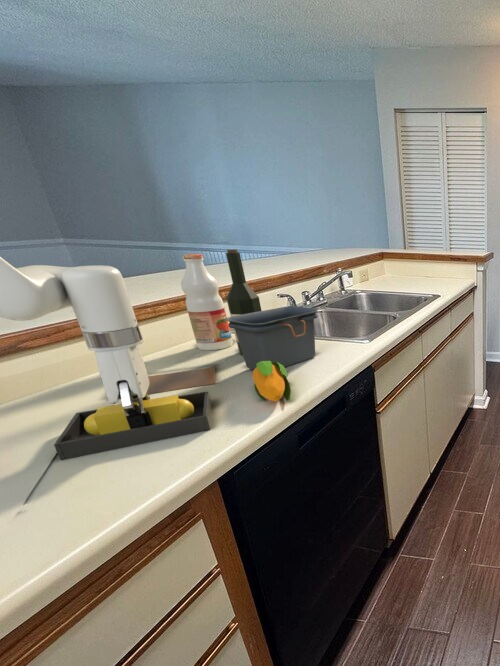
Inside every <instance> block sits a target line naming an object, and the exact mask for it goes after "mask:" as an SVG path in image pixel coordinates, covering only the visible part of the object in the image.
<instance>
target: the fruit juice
mask: <svg viewBox="0 0 500 666" xmlns="http://www.w3.org/2000/svg"><path fill="white" fill-rule="evenodd" d="M203 255H204V254H202V253H186V254H182V255H181V257H182V261H183V262H184V264H185V272H184V276H183V277H182V279H181V281H180V287H181V290H182V292H183V293H184V295H185V307H186V311H187V314H188V317H189V321H190V326H191V329H192V333H193V335H194V340H195V343H196V346H197V348H198V349H199V350H201V351H216V350H223V349H227V348H230V347H232V346H233V344H234V342H233V337H232V333H231V328H230V327H229V321H227V320H226V318H228V316H227V313H226V308H225V304H224V300H223V298H222V297H221V296H220V293H219V289H220V286H219V282H218V281H217V279H216V278H215V277H214V276H213V275H212V274H210V272H209V271H208V270H207V268H206V266H205V264H204V256H203Z"/></svg>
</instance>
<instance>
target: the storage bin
mask: <svg viewBox="0 0 500 666" xmlns="http://www.w3.org/2000/svg"><path fill="white" fill-rule="evenodd" d="M318 311H319V309H317V308H312V307H306V306H298V305H287V306H281V307H276V308H275V307H274V308H271V309H265V310H262V311H259V312H253V313H248V314H243V315H238V316H232V317H231V316H229V317H228V316H227V318H226V320H227V321H228V324H229V328H230V329H233V330H234V329H235V332H236V335H237V338H238V341H239V344H240V347H241V350H242V353H243V356H242V357H243V360H244V362H245V366H246V368H247V369H249V370H253V371H254V369H255V368H256V367H257V365H256V364H257V363H259V362H261V361H271V363H273V362H278V363H280V364H281V365H283V366H284V368H286V367H289V366H292V365H295V364H298V363H301V362H303V361H306V360H310V359H312V358H314V357H316V335H315V334H316V333H315V319H318V314H317V312H318ZM235 332H234V333H235Z"/></svg>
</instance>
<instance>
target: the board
mask: <svg viewBox="0 0 500 666" xmlns="http://www.w3.org/2000/svg"><path fill="white" fill-rule="evenodd" d="M148 378H149V387H148V390H147V392H148V394H149V396H150V395H155V394H161V393H167V392H174V391H180V390H181V391H182V390H187V389H194V388H199V387H205V386H212V385H216V366H211V367H205V368H197V369H191V370H182V371H176V372H169V373H161V374H155V375H148ZM119 400H121V398H119Z"/></svg>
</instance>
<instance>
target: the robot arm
mask: <svg viewBox="0 0 500 666" xmlns="http://www.w3.org/2000/svg"><path fill="white" fill-rule="evenodd" d="M132 304H133V303H132V302H131V298H130V296H129V292H128V289H127V286H126V283H125V280H124V277H123V275H122V273H121V271H120V270H119V269H117V268H116V267H114V266H111V265H95V264H94V265H79V266H57V265H47V264H33V265H26V266H22V267H14V266H13V265H12V264H11V263H9V262H8V261H7V260H5V259H4V258H2V257H1V256H0V318H3V319H6V320H11V321H21V322H24V321H32V320H35V319H39V318H41V317H44V316H46V315H48V314H51V313H54V312H57V311H60V310H63V309H65V308H72V310H73V313H74V315H75V318H76V320H77V323H78V326H79V328H80V331H81V333H82V337H83V339H84V342H85V344H86V346H87V350H88V351H91V352H94V353H95V354H94V355H95V360H96V364H97V369H98V371H99V375H100V378H101V381H102V384H103V388H104V392H105V394H106V397H107V402H108V403H109V404H111V405H117V404H116V403H118V402H119V400H120V401H121V404H122V406H123V409H124V412H125V415H126V418H127V421H128V424H129V427H130V429H135V428H140V427H145V426H151V425H153V424H152V421H151V418H150V415H149V412H146V410H145V406H144V403H143V400H149V399H151V397H150V395H149V394H148V392H147V390H148V387H149V378H148V376H149V373H148V371H147V368H146V365H145V362H144V358H143V356H142V353H141V350H140V348H139V345H141V344H143V343H144V338H143V335H142V332H141V329H140V326H139V323H138V321H137V317H136V314H135V311H134V308H133V305H132ZM119 398H121V399H119ZM133 402H138V404H139V406H138V405H137V404H135V405H134V403H133Z"/></svg>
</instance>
